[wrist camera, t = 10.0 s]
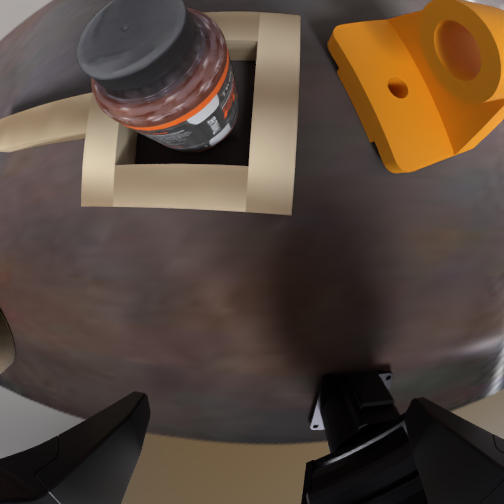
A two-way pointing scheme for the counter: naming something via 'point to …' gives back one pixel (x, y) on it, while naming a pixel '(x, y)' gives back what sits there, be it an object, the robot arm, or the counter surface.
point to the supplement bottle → (161, 72)
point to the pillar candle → (5, 345)
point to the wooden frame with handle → (188, 175)
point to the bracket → (425, 80)
